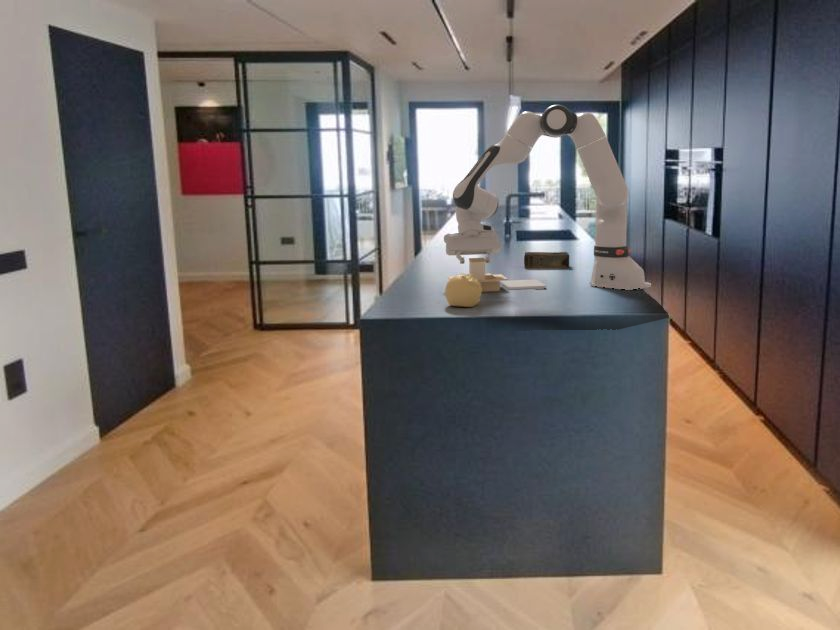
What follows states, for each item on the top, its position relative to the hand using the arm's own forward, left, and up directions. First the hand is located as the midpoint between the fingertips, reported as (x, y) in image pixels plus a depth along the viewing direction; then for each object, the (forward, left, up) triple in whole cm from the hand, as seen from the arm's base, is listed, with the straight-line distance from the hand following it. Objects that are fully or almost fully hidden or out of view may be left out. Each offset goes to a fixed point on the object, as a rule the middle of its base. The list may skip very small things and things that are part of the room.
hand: (475, 262), depth 275 cm
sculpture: (-22, +24, -10) cm, 34 cm away
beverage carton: (+19, -56, -10) cm, 60 cm away
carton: (-3, +2, -10) cm, 10 cm away
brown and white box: (-3, +2, -9) cm, 10 cm away
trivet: (-9, -15, -10) cm, 20 cm away
